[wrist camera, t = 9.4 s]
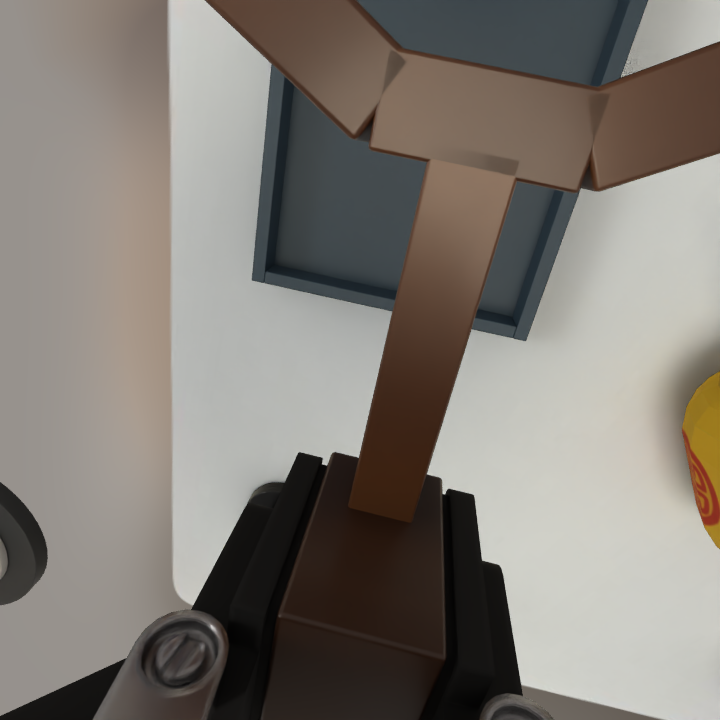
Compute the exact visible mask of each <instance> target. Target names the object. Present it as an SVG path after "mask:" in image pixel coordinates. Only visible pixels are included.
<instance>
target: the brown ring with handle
mask: <svg viewBox="0 0 720 720" xmlns="http://www.w3.org/2000/svg"><path fill="white" fill-rule="evenodd" d="M205 1H206V2H207V3H208V4H209V5H210V6H211V7H213V8H214V9H215V10H216V11H217V12H218V13H219V14H220V15H221V16H222V17H223V18H224V19H225V20H226V21H227V22H228V23H229V24H230V25H231V26H232V27H233V28H235V29H236V30H237V31H238V32H239V33H240V34H241V35H242V36H243V37H244V38H245V39H246V40H247V41H248V42H249V43H250V44H251V45H252V46H253V47H254V48H256V49H257V50H258V51H259V52H260V53H261V54H262V55H263V56H264V57H265V58H266V59H267V60H268V61H269V62H270V63H271V64H272V65H273V66H274V67H275V68H277V69H278V70H279V71H280V72H281V73H282V74H283V75H284V76H285V77H286V78H287V79H288V80H289V81H290V82H291V83H292V84H293V85H294V86H295V87H296V88H297V89H299V90H300V91H301V92H302V93H303V94H304V95H305V96H306V97H307V98H308V99H309V100H310V101H311V102H312V103H313V104H314V105H315V106H316V107H317V108H318V109H320V110H321V111H322V112H323V113H324V114H325V115H326V116H327V117H328V118H329V119H330V120H331V121H332V122H333V123H334V124H335V125H336V126H337V127H338V128H339V129H340V130H342V131H343V132H344V133H345V134H346V135H347V136H348V137H349V138H350V139H353V140H357V141H364V142H369V145H368V146H369V149H370V150H371V151H374V152H379V153H383V154H388V155H393V156H398V157H402V158H407V159H412V160H417V161H421V162H426V163H427V164H426V168H425V172H424V177H423V181H422V185H421V190H420V194H419V199H418V203H417V207H416V212H415V216H414V220H413V225H412V229H411V233H410V238H409V242H408V246H407V251H406V255H405V259H404V264H403V268H402V272H401V277H400V281H399V286H398V290H397V294H396V299H395V303H394V307H393V312H392V316H391V320H390V325H389V329H388V333H387V338H386V342H385V346H384V351H383V355H382V359H381V364H380V368H379V373H378V377H377V381H376V386H375V390H374V394H373V399H372V403H371V407H370V412H369V416H368V420H367V425H366V429H365V433H364V438H363V442H362V446H361V451H360V455H359V458H357V457H353V456H349V455H345V454H341V453H337V452H333V453H332V455H331V457H330V460H329V463H328V465H327V468H326V471H325V474H324V477H323V480H322V483H321V486H320V489H319V492H318V495H317V498H316V501H315V504H314V507H313V510H312V513H311V516H310V519H309V522H308V525H307V528H306V531H305V533H304V536H303V539H302V542H301V545H300V548H299V551H298V554H297V557H296V560H295V563H294V566H293V569H292V572H291V575H290V578H289V581H288V584H287V587H286V590H285V593H284V596H283V599H282V602H281V604H280V607H279V610H278V613H277V619H276V625H275V631H274V637H273V642H272V648H271V654H270V660H269V666H268V672H267V678H266V683H265V689H264V695H263V701H262V707H261V713H260V719H259V720H421V719H422V717H423V714H424V712H425V709H426V707H427V704H428V702H429V700H430V697H431V695H432V692H433V690H434V687H435V685H436V683H437V680H438V678H439V675H440V673H441V671H442V668H443V666H444V663H445V661H446V658H447V651H446V612H445V573H444V534H443V495H442V479H441V478H439V477H435V476H431V475H427V472H428V468H429V465H430V462H431V459H432V455H433V452H434V449H435V446H436V442H437V439H438V436H439V433H440V430H441V426H442V423H443V420H444V417H445V413H446V410H447V407H448V404H449V400H450V397H451V394H452V391H453V387H454V384H455V381H456V378H457V374H458V371H459V368H460V365H461V361H462V358H463V355H464V352H465V348H466V345H467V342H468V339H469V335H470V332H471V329H472V326H473V322H474V319H475V316H476V313H477V309H478V306H479V303H480V300H481V296H482V293H483V290H484V287H485V284H486V280H487V277H488V274H489V271H490V267H491V264H492V261H493V258H494V254H495V251H496V248H497V245H498V241H499V238H500V235H501V232H502V228H503V225H504V222H505V219H506V215H507V212H508V209H509V206H510V202H511V199H512V196H513V193H514V189H515V186H516V183H517V182H521V183H526V184H531V185H535V186H540V187H545V188H550V189H554V190H559V191H564V192H569V193H577V192H578V191H579V190H580V188H584V189H588V190H592V191H598V192H600V191H603V190H606V189H609V188H612V187H615V186H618V185H622V184H625V183H628V182H631V181H634V180H637V179H641V178H644V177H647V176H650V175H653V174H656V173H659V172H663V171H666V170H669V169H672V168H675V167H678V166H681V165H685V164H688V163H691V162H694V161H697V160H700V159H704V158H707V157H710V156H713V155H716V154H719V153H720V41H719V42H717V43H714V44H711V45H709V46H706V47H703V48H700V49H698V50H695V51H692V52H690V53H687V54H684V55H682V56H679V57H676V58H673V59H671V60H668V61H665V62H663V63H660V64H657V65H655V66H652V67H649V68H646V69H644V70H641V71H638V72H636V73H633V74H630V75H627V76H625V77H622V78H619V79H617V80H614V81H611V82H609V83H606V84H603V85H600V86H598V87H596V86H591V85H586V84H581V83H576V82H571V81H566V80H561V79H556V78H551V77H546V76H541V75H536V74H531V73H526V72H521V71H516V70H510V69H505V68H500V67H495V66H490V65H485V64H480V63H475V62H470V61H465V60H460V59H455V58H450V57H445V56H440V55H435V54H430V53H425V52H420V51H415V50H410V49H405V48H403V47H402V46H401V45H400V44H399V43H398V42H397V41H396V40H395V39H394V38H393V37H392V36H391V35H390V34H389V33H388V32H387V31H386V30H385V29H384V28H383V27H382V26H381V25H380V24H379V23H378V21H377V20H376V19H375V18H374V17H373V16H372V15H371V14H370V13H369V12H368V11H367V10H366V9H365V8H364V7H363V6H362V5H361V4H360V3H359V2H358V1H357V0H205Z"/></svg>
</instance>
